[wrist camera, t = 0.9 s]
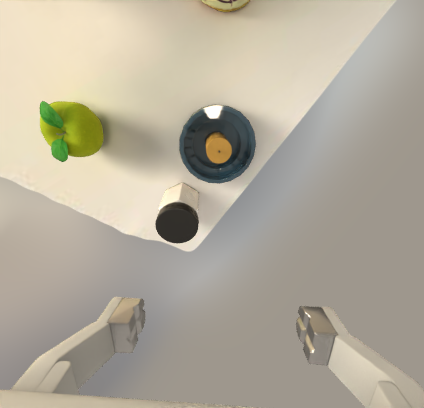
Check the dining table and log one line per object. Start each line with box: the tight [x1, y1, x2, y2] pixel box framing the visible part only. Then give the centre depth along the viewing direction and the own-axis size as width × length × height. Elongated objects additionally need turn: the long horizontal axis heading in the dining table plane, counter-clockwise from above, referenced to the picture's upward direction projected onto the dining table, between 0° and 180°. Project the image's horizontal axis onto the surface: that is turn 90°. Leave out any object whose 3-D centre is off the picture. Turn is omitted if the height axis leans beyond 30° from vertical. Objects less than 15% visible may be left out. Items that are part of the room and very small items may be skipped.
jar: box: [156, 183, 199, 243], centre depth 44 cm, size 9×8×12 cm
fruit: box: [40, 101, 103, 162], centre depth 36 cm, size 9×9×10 cm
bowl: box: [180, 105, 256, 183], centre depth 41 cm, size 15×15×5 cm
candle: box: [205, 132, 232, 164], centre depth 39 cm, size 5×5×8 cm
